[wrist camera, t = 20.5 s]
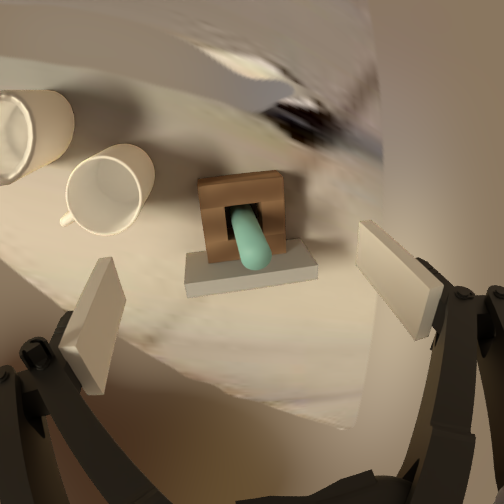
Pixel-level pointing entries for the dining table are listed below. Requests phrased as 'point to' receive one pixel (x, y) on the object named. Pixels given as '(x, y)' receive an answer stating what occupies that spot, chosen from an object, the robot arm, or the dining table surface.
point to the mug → (32, 131)
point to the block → (236, 193)
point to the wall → (248, 272)
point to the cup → (109, 189)
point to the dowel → (249, 238)
